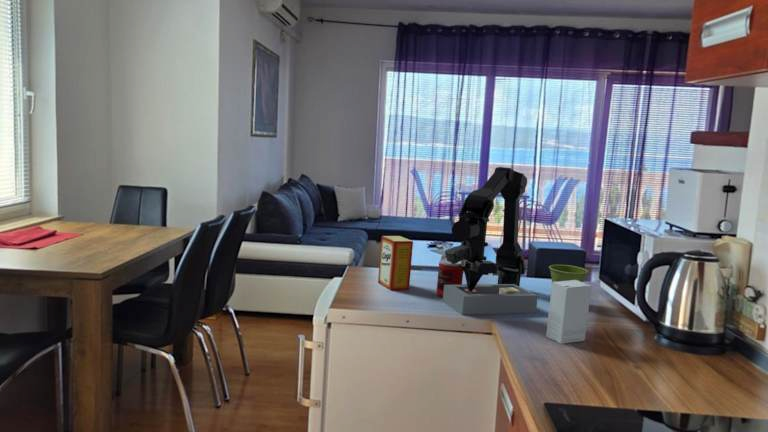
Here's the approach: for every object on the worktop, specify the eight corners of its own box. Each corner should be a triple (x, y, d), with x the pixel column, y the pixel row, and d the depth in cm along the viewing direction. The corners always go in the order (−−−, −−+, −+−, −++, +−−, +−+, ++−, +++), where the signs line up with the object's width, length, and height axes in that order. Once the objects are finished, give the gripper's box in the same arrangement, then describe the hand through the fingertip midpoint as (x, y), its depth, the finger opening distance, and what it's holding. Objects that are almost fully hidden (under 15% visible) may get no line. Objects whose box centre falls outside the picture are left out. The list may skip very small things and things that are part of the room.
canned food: (460, 293, 193) (463, 259, 192) (461, 300, 185) (464, 264, 184) (436, 291, 194) (439, 257, 193) (436, 297, 186) (439, 262, 185)
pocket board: (512, 300, 190) (514, 284, 189) (535, 312, 178) (537, 295, 177) (442, 301, 182) (444, 284, 181) (462, 314, 170) (463, 296, 169)
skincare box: (569, 334, 159) (576, 279, 158) (586, 342, 154) (593, 285, 152) (544, 336, 156) (551, 280, 154) (560, 344, 150) (567, 286, 148)
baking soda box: (378, 282, 199) (381, 234, 197) (395, 282, 202) (399, 234, 200) (390, 290, 191) (394, 240, 189) (408, 289, 193) (413, 240, 191)
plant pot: (548, 296, 199) (552, 262, 198) (586, 303, 194) (590, 268, 193) (541, 304, 188) (545, 268, 187) (581, 311, 183) (585, 274, 182)
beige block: (512, 295, 184) (512, 287, 184) (519, 299, 181) (519, 290, 180) (498, 296, 183) (499, 287, 183) (505, 299, 179) (506, 291, 179)
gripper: (436, 231, 181) (432, 282, 183) (465, 243, 164) (459, 299, 166) (470, 232, 185) (465, 282, 187) (501, 244, 167) (495, 299, 169)
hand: (470, 290), depth 177 cm, fingers closed, pressing on ejector lever
